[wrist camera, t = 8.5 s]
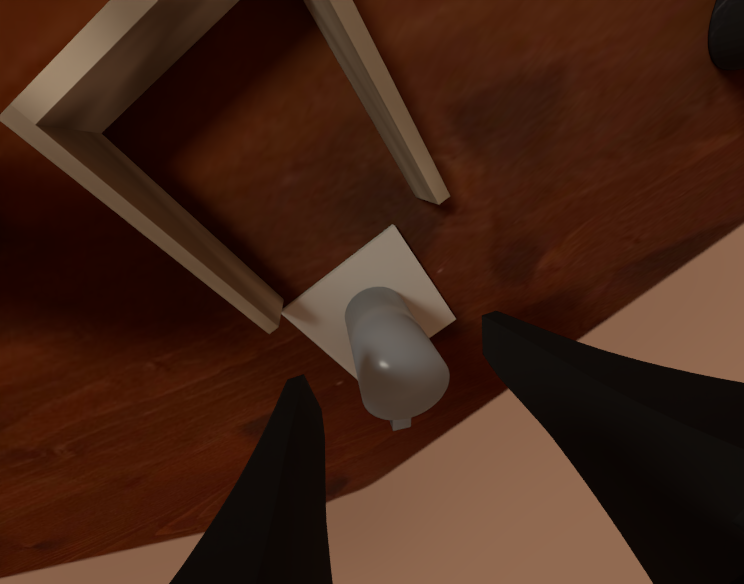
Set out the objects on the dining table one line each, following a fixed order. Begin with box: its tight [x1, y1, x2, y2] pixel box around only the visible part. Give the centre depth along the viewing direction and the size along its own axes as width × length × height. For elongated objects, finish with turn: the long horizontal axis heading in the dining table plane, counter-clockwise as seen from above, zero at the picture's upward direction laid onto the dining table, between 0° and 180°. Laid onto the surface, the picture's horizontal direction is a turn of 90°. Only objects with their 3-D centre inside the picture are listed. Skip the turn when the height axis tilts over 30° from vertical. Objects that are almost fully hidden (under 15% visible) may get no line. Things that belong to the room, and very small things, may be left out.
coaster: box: [281, 224, 456, 380], centre depth 20 cm, size 10×10×1 cm
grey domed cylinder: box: [345, 287, 450, 431], centre depth 17 cm, size 7×5×8 cm
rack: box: [0, 0, 450, 334], centre depth 13 cm, size 13×13×4 cm
